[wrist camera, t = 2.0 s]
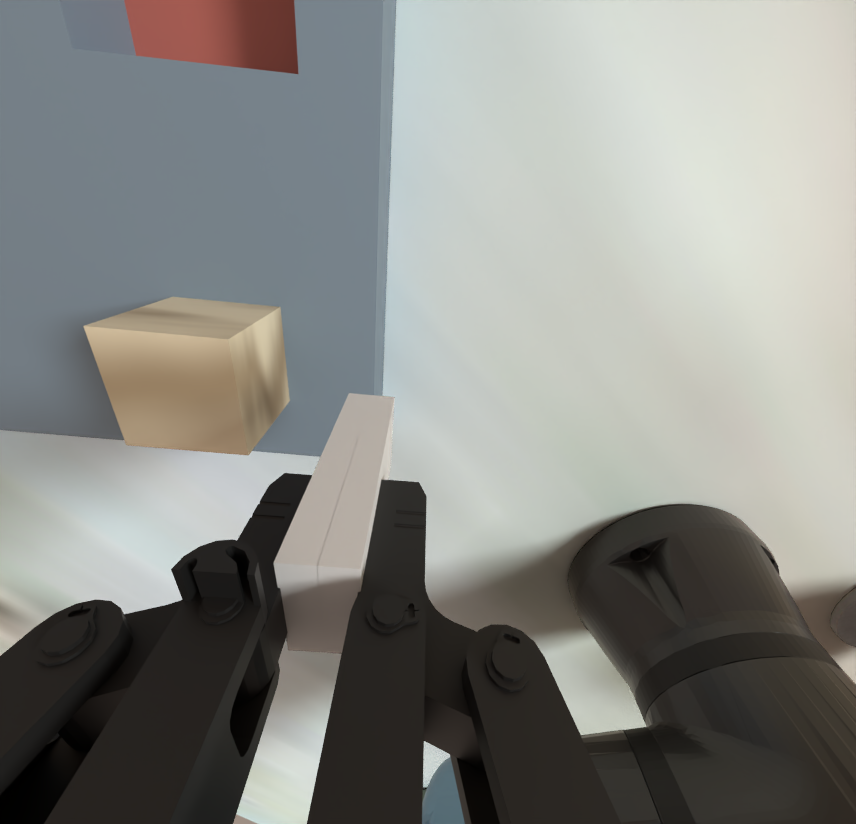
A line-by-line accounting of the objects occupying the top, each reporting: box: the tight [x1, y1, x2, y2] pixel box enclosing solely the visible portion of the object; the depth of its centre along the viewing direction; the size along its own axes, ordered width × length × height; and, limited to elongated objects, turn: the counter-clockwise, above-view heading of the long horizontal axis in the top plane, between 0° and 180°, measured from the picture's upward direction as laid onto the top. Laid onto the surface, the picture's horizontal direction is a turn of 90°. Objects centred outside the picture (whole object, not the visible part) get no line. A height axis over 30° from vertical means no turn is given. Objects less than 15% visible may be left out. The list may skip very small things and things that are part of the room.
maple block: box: [83, 297, 290, 455], centre depth 16 cm, size 5×5×5 cm
